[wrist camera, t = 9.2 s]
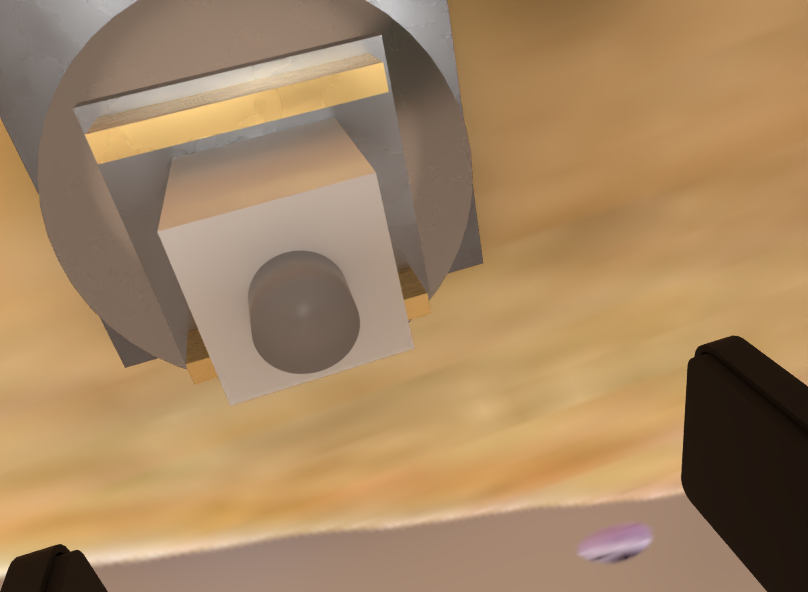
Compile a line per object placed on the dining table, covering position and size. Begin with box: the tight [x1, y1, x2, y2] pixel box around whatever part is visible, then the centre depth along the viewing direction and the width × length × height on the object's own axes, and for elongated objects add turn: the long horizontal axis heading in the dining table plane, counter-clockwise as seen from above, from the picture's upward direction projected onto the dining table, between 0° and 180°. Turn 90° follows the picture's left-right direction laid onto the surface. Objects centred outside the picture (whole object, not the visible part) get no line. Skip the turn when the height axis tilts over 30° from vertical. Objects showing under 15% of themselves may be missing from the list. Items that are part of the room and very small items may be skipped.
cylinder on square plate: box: [0, 0, 483, 384], centre depth 25 cm, size 20×20×14 cm
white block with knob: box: [157, 117, 414, 406], centre depth 18 cm, size 5×5×8 cm
